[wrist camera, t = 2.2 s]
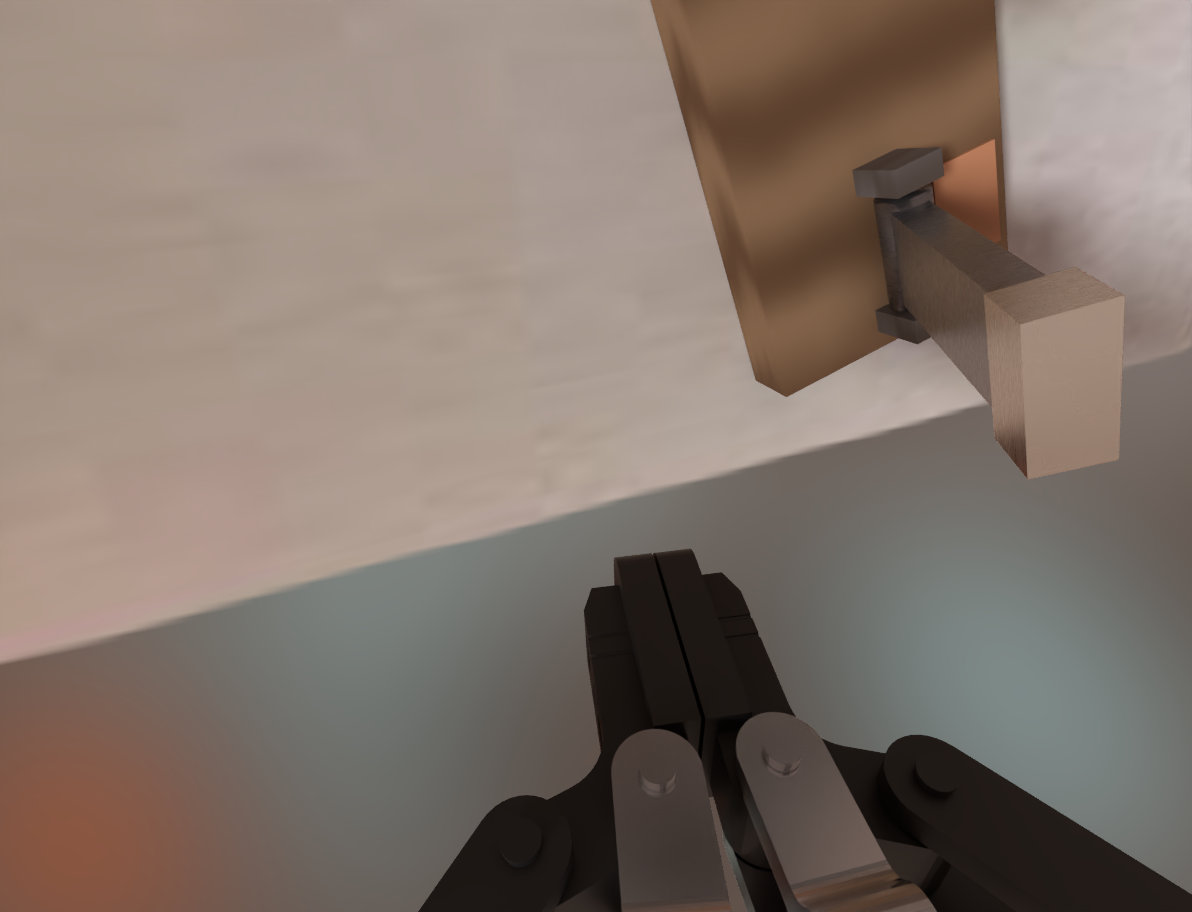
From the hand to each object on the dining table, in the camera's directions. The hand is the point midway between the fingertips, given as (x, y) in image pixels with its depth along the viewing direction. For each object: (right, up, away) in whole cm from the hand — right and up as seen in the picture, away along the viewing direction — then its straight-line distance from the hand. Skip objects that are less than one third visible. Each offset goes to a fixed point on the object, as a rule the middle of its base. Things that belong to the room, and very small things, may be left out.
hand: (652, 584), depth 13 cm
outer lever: (+14, +13, +19) cm, 26 cm away
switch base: (+9, +20, +18) cm, 28 cm away
